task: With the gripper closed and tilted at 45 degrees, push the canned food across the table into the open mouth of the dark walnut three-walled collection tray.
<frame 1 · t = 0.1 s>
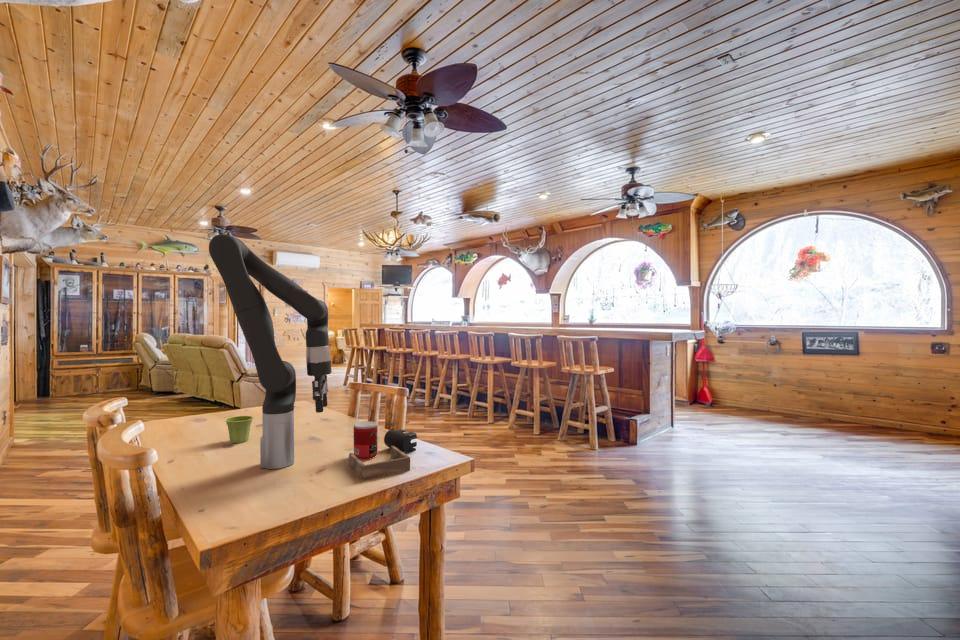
hand: (321, 409, 141), 17 cm above the table, tool pointing down, fingers open, 8 cm apart
plant pot: (239, 441, 163), on the table
collection tray: (378, 467, 136), on the table
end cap: (400, 450, 153), on the table
canned food: (365, 456, 147), on the table
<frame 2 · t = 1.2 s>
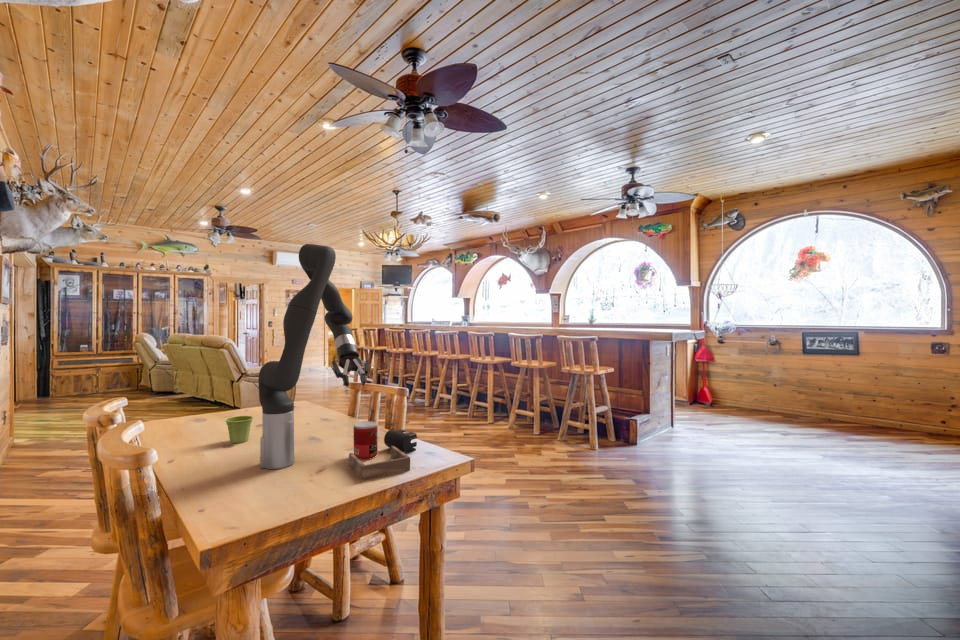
hand: (355, 384, 154), 23 cm above the table, tool tilted 45°, fingers open, 5 cm apart
nothing on the table moved.
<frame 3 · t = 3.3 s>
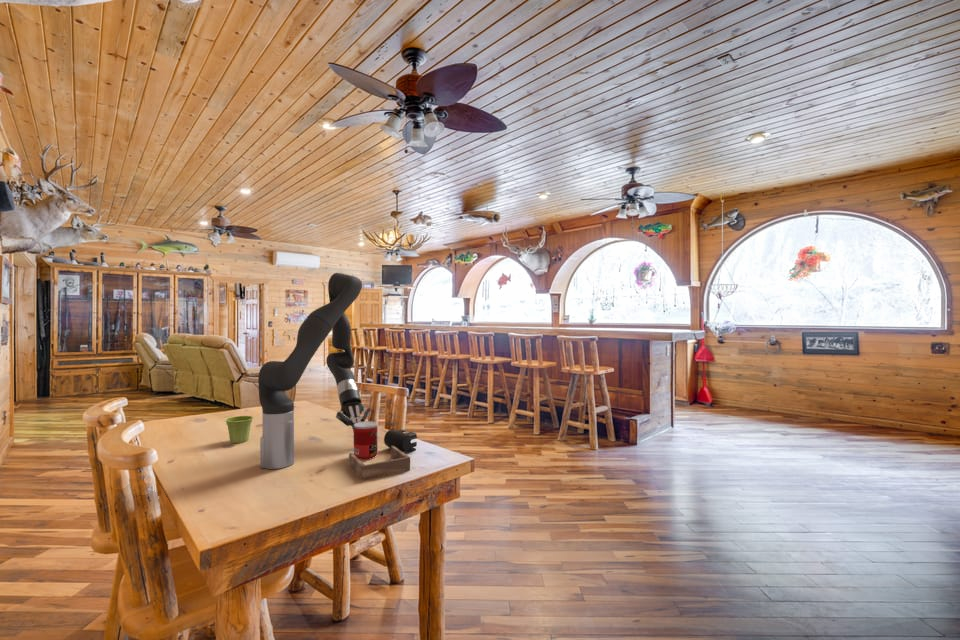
hand: (358, 433, 154), 6 cm above the table, tool tilted 45°, fingers closed
nothing on the table moved.
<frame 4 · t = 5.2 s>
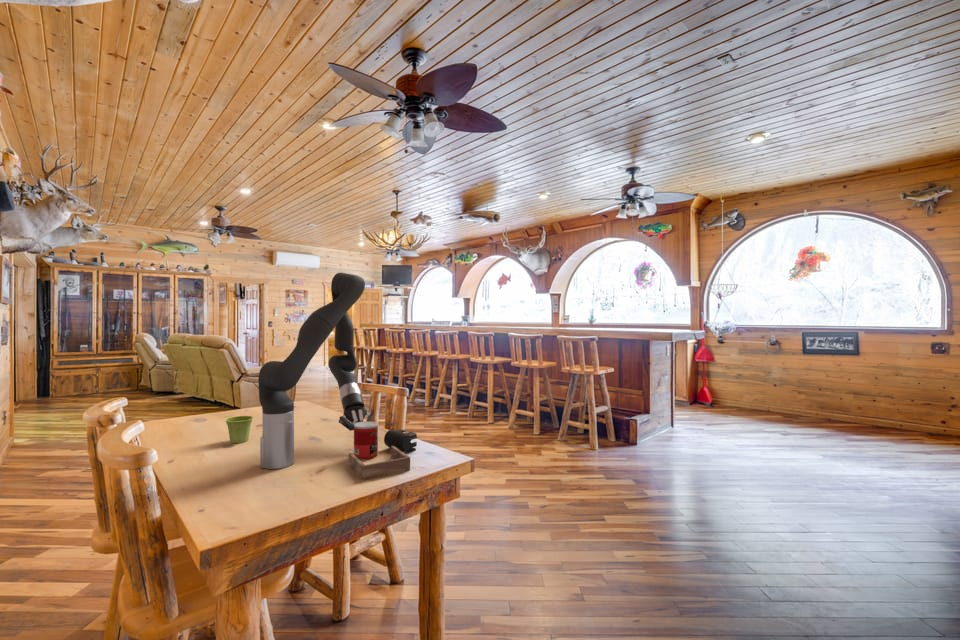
hand: (361, 438, 151), 5 cm above the table, tool tilted 45°, fingers closed
canned food: (365, 456, 147), on the table, touching gripper
everything else where it was.
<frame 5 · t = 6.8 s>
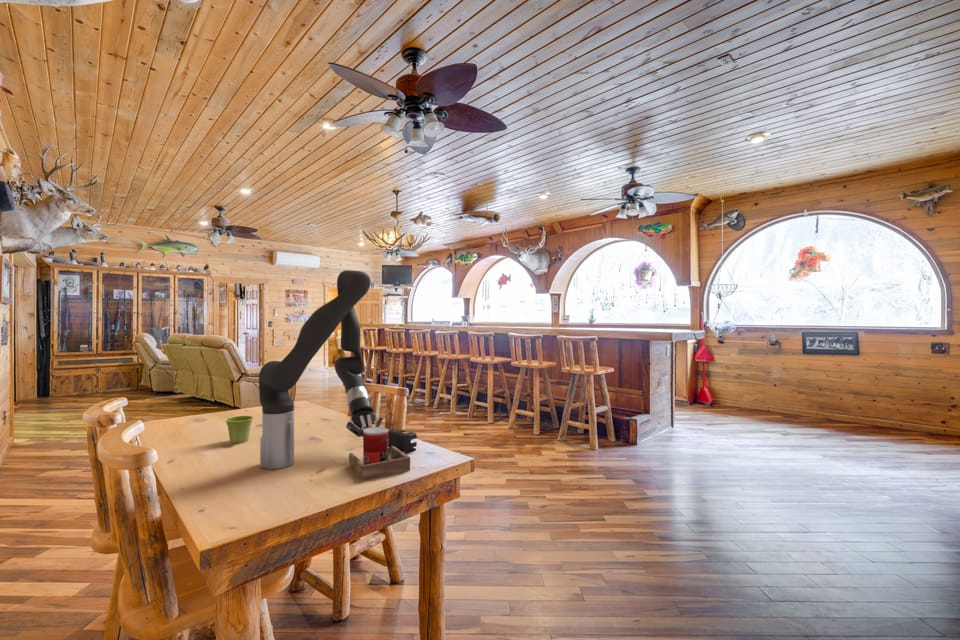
hand: (370, 445, 143), 5 cm above the table, tool tilted 45°, fingers closed
canned food: (375, 464, 139), resting in collection tray, touching gripper
everything else where it was.
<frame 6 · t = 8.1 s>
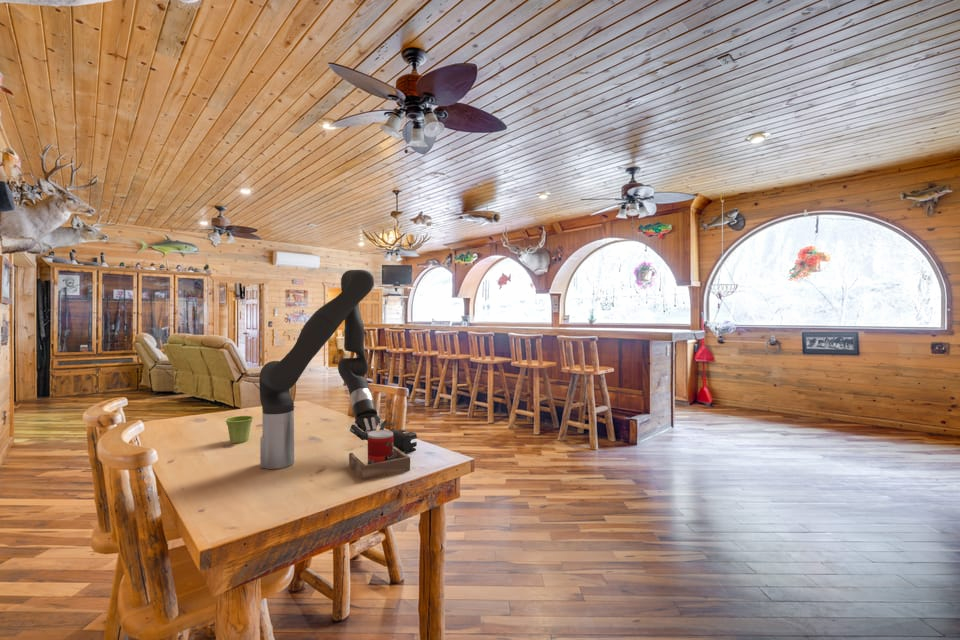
hand: (375, 449, 139), 5 cm above the table, tool tilted 45°, fingers closed
canned food: (380, 468, 136), resting in collection tray, touching gripper
everything else where it was.
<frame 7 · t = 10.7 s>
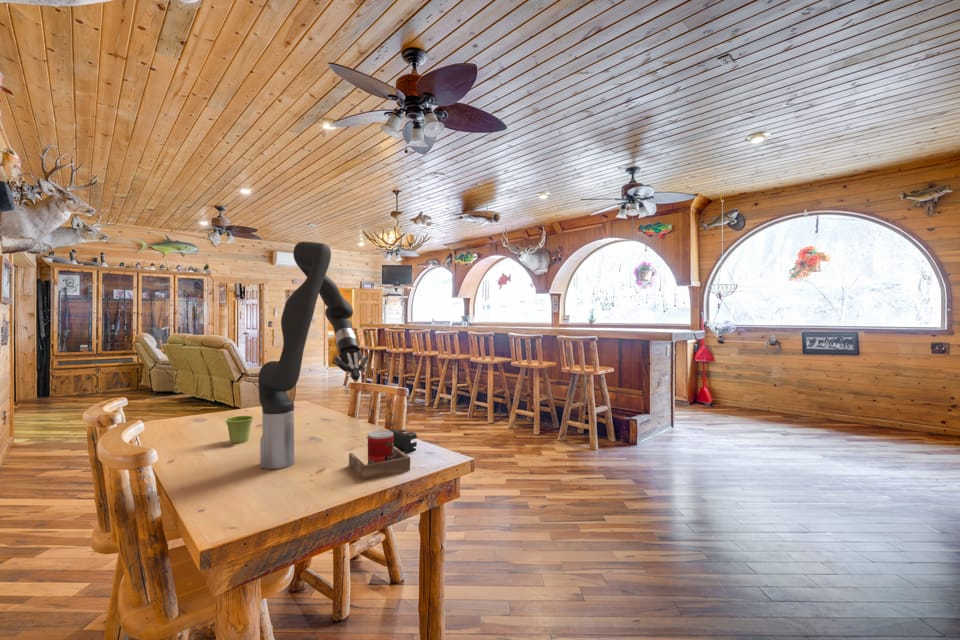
hand: (356, 378, 154), 25 cm above the table, tool tilted 45°, fingers closed
canned food: (380, 468, 136), resting in collection tray
everything else where it was.
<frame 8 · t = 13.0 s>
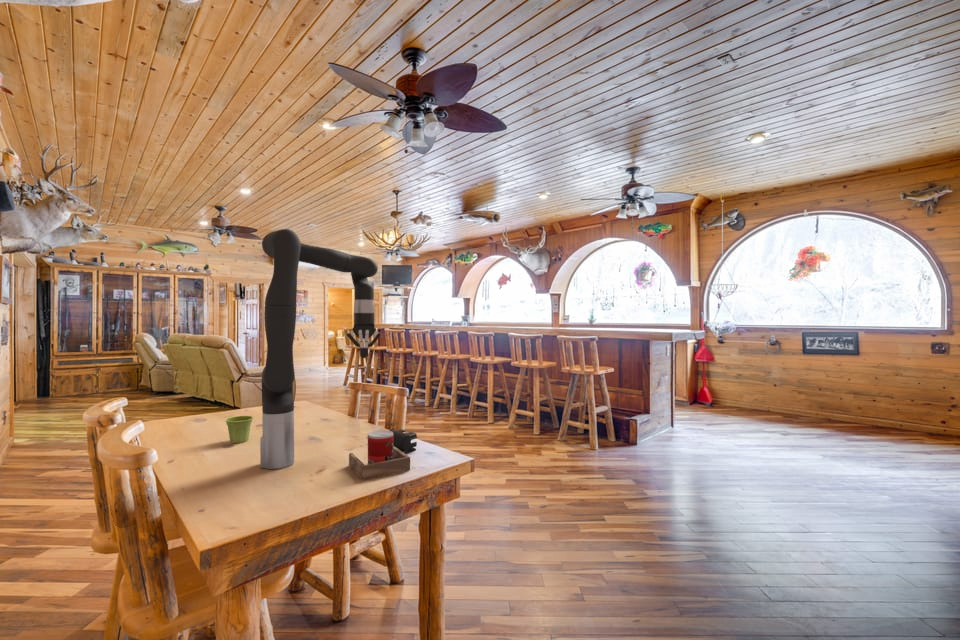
hand: (364, 357, 162), 32 cm above the table, tool pointing down, fingers closed
nothing on the table moved.
at the end: canned food inside the target area on the collection tray (0.9 cm from its centre), point 0.0 cm above the collection tray's base; canned food tilted 0°; canned food moved 13.7 cm from its start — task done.
